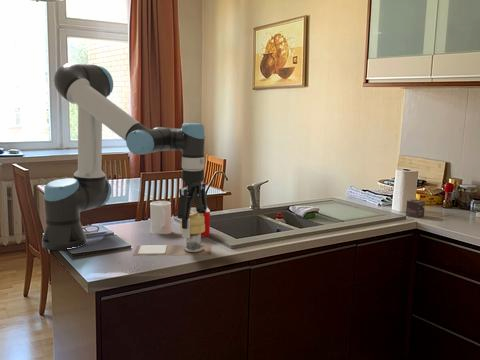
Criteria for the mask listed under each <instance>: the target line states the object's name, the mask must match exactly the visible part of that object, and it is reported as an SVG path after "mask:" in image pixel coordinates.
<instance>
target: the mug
mask: <svg viewBox="0 0 480 360" xmlns="http://www.w3.org/2000/svg"><path fill="white" fill-rule="evenodd" d="M149 204H150V205H149V207H150V231H149V232H150V234H152V235H169V234H171V233H172V232H173V229H172V206H171V205H172V202H170V201H168V200H155V201H151V202H150V203H149Z"/></svg>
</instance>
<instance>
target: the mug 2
mask: <svg viewBox="0 0 480 360" xmlns="http://www.w3.org/2000/svg"><path fill="white" fill-rule="evenodd" d="M194 212H197V210H196V207H191V209H190V214H191V213H194ZM197 213H198V212H197ZM210 215H211V210H210V208H209V207H207V209H206V213H203V216H204V223H205V231H204V232H202V233H201V237H209V236H211V235H210V234H211V233H210V232H211V231H210V229H211V228H210V227H211V226H210V221H211V220H210V219H211V217H210Z"/></svg>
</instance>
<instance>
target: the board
mask: <svg viewBox="0 0 480 360" xmlns="http://www.w3.org/2000/svg"><path fill="white" fill-rule="evenodd" d="M166 245H167V248H166V252H165V254H152V255H138V252H139V250H140V247H141V245H136V248H135V250H134V253H133V254H132V257H146V256H147V257H149V256H153V257H154V256H158V257H159V256H200V255H201V256H203V255H204V256H206V255H207V256H211V255H212V245H211V244H201V245H202V246H203V247H204V250H203V251H202V252H198V253H188V252H185V251H184V250H183V247H184V246H186V244H166Z"/></svg>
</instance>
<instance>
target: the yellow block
mask: <svg viewBox="0 0 480 360" xmlns="http://www.w3.org/2000/svg"><path fill="white" fill-rule="evenodd" d="M188 219H190V234H200V233H202V232H204V231H205V223H204V216H203V215H201V214H198V213H197V212H194V213H191V214H189V218H188ZM179 228H180V229H179V231H180V232H181V233H182V219H180V224H179Z"/></svg>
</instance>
